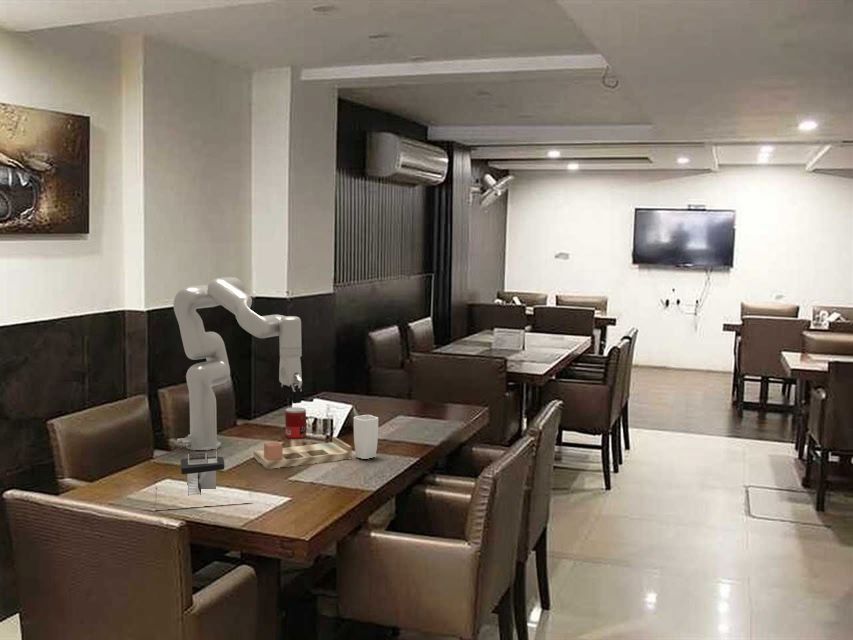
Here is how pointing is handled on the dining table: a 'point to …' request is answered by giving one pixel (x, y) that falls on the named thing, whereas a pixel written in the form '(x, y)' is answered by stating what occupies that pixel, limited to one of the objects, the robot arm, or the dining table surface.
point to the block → (273, 451)
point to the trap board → (308, 454)
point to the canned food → (295, 422)
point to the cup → (365, 436)
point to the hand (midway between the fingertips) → (291, 400)
